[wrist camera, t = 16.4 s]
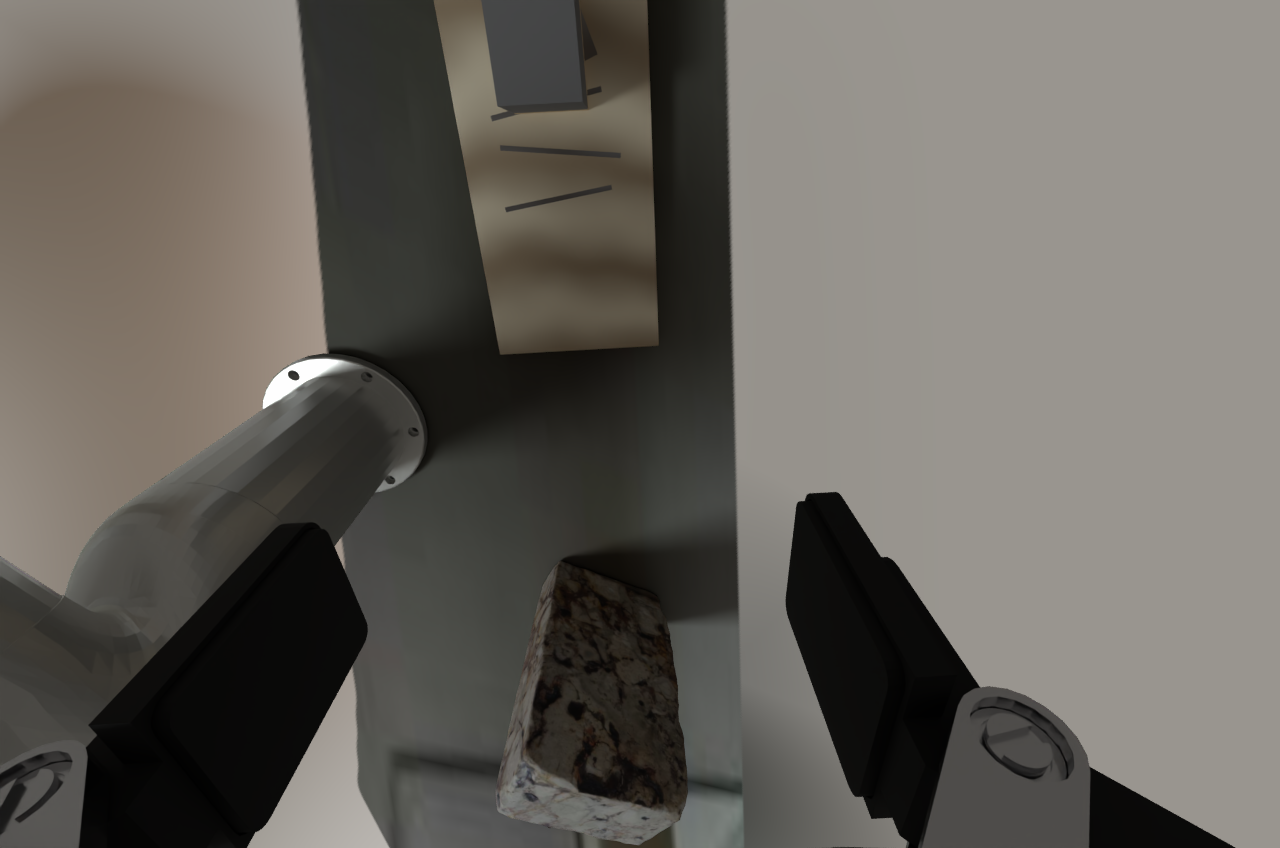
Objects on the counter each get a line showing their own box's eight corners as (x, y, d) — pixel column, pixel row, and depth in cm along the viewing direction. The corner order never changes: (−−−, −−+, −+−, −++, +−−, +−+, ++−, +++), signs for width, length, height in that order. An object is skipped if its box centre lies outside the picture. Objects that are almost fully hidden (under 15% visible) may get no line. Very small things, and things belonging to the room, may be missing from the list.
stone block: (532, 598, 52) (485, 825, 34) (554, 550, 49) (515, 769, 31) (649, 631, 55) (661, 856, 37) (677, 587, 52) (705, 809, 34)
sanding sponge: (588, 110, 31) (582, 101, 27) (515, 114, 31) (497, 106, 27) (574, -64, 27) (564, -107, 23) (491, -59, 27) (465, -102, 23)
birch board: (657, 339, 40) (658, 345, 38) (504, 347, 40) (500, 354, 38) (643, -71, 28) (644, -84, 27) (430, -60, 28) (420, -71, 27)
